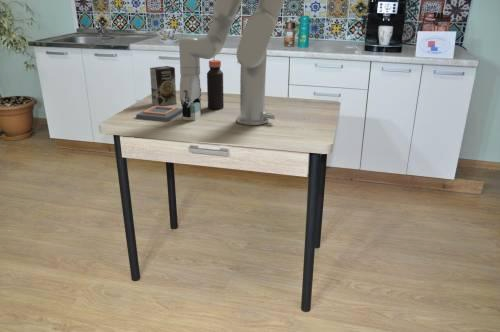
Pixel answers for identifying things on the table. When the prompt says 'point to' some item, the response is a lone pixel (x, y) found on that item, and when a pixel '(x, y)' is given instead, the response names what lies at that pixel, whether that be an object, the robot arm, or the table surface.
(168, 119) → the slate plate
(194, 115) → the brick stack
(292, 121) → the table surface
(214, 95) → the bottle
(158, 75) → the coffee box
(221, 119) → the table surface
